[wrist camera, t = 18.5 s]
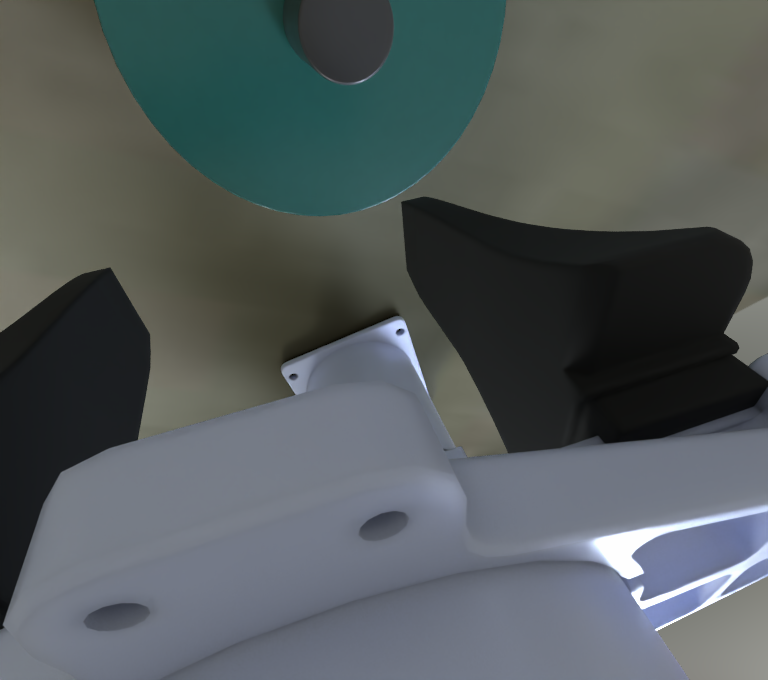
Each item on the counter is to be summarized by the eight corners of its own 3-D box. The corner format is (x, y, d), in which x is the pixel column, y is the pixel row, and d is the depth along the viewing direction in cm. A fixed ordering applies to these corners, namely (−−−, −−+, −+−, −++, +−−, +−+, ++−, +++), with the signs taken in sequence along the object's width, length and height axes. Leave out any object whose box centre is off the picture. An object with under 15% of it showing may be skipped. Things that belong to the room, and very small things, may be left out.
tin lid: (506, 140, 18) (571, 174, 15) (234, 251, 18) (237, 312, 14) (462, -385, 10) (582, -571, 7) (-38, -205, 10) (-174, -308, 6)
